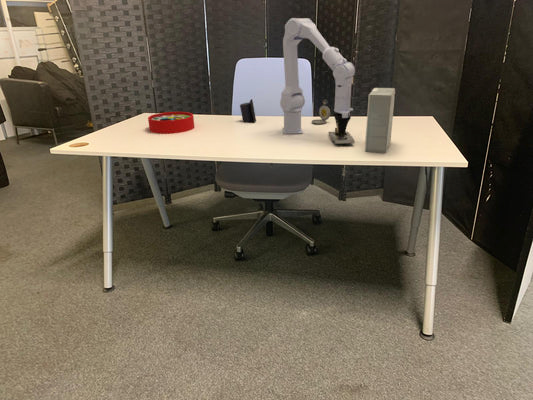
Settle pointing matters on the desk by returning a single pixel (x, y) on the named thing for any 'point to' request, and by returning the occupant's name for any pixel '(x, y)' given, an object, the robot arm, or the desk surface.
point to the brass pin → (338, 132)
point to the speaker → (248, 112)
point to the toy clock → (171, 122)
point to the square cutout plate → (341, 138)
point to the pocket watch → (322, 114)
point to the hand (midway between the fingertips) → (340, 132)
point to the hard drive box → (379, 119)
